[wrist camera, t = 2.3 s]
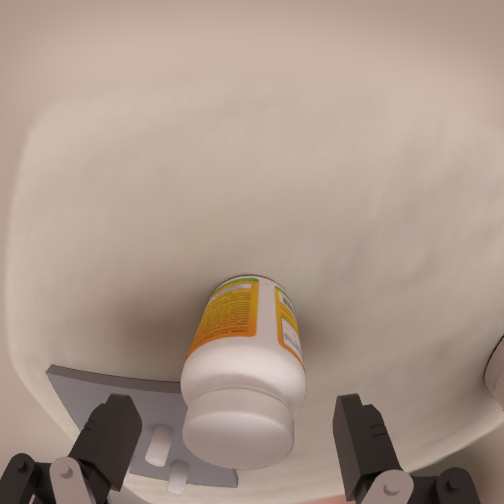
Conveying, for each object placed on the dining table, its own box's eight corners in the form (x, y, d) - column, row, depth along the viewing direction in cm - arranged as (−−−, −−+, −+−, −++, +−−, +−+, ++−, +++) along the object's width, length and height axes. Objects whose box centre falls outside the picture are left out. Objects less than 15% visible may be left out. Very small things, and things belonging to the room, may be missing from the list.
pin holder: (215, 384, 20) (205, 433, 15) (238, 479, 25) (234, 513, 20) (51, 364, 21) (26, 395, 16) (110, 460, 26) (98, 487, 21)
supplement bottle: (196, 331, 18) (152, 454, 9) (223, 259, 17) (178, 374, 8) (273, 358, 19) (274, 486, 10) (309, 292, 17) (344, 420, 8)
